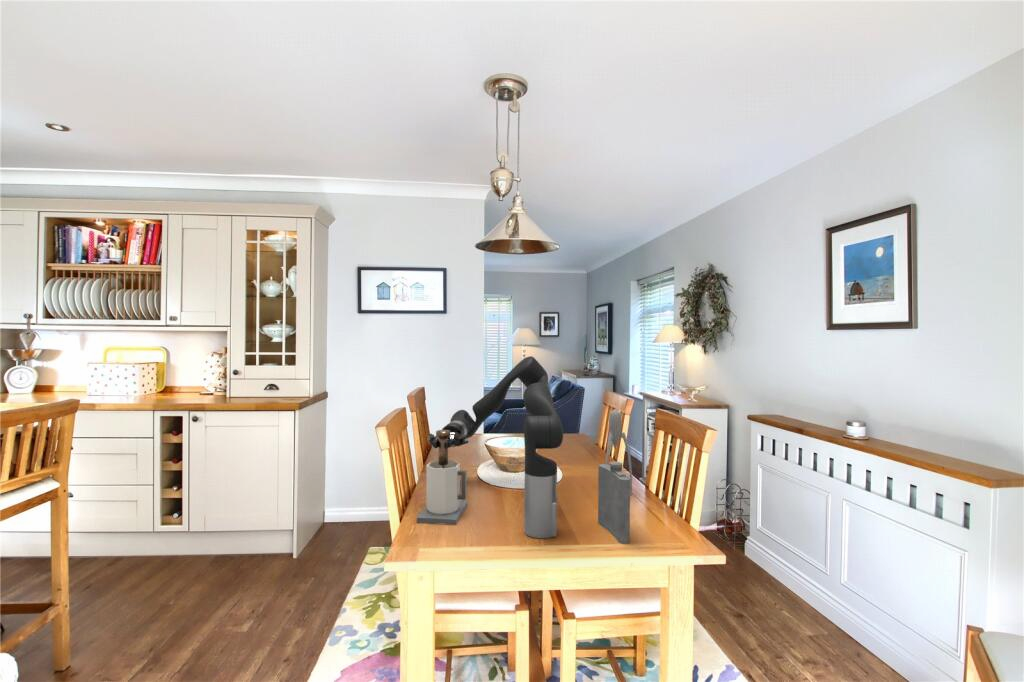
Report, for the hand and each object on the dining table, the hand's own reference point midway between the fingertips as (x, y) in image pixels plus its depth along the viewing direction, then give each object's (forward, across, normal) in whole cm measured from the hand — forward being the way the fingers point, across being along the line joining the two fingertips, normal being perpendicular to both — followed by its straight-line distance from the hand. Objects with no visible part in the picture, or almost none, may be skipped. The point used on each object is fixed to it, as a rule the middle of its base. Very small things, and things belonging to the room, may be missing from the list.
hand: (440, 445), depth 154 cm
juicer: (-28, +56, +22) cm, 66 cm away
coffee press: (-3, 0, +22) cm, 22 cm away
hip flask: (+4, +52, +22) cm, 57 cm away
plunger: (-3, 0, +19) cm, 19 cm away
